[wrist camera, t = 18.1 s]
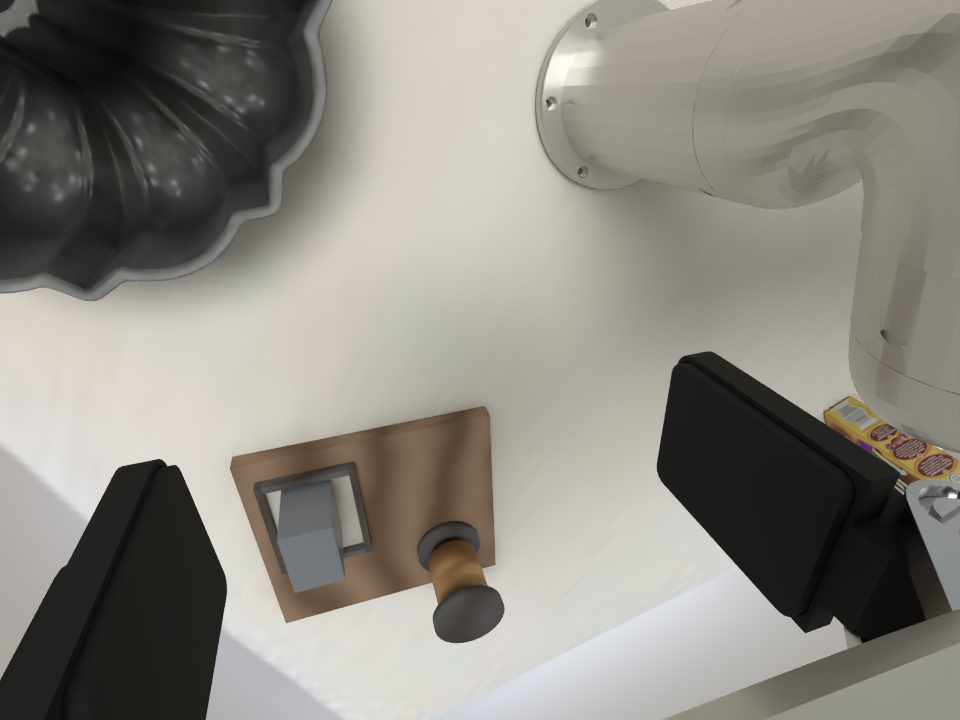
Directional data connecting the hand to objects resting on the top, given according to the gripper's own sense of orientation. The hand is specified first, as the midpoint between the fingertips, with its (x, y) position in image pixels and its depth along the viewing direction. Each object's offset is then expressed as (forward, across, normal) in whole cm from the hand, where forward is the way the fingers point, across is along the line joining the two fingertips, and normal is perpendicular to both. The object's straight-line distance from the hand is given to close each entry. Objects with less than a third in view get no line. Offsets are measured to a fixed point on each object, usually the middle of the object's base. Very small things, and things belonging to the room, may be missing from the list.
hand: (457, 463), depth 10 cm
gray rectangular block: (+29, +8, +26) cm, 39 cm away
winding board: (+30, +2, +30) cm, 43 cm away
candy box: (+31, -56, +34) cm, 72 cm away
